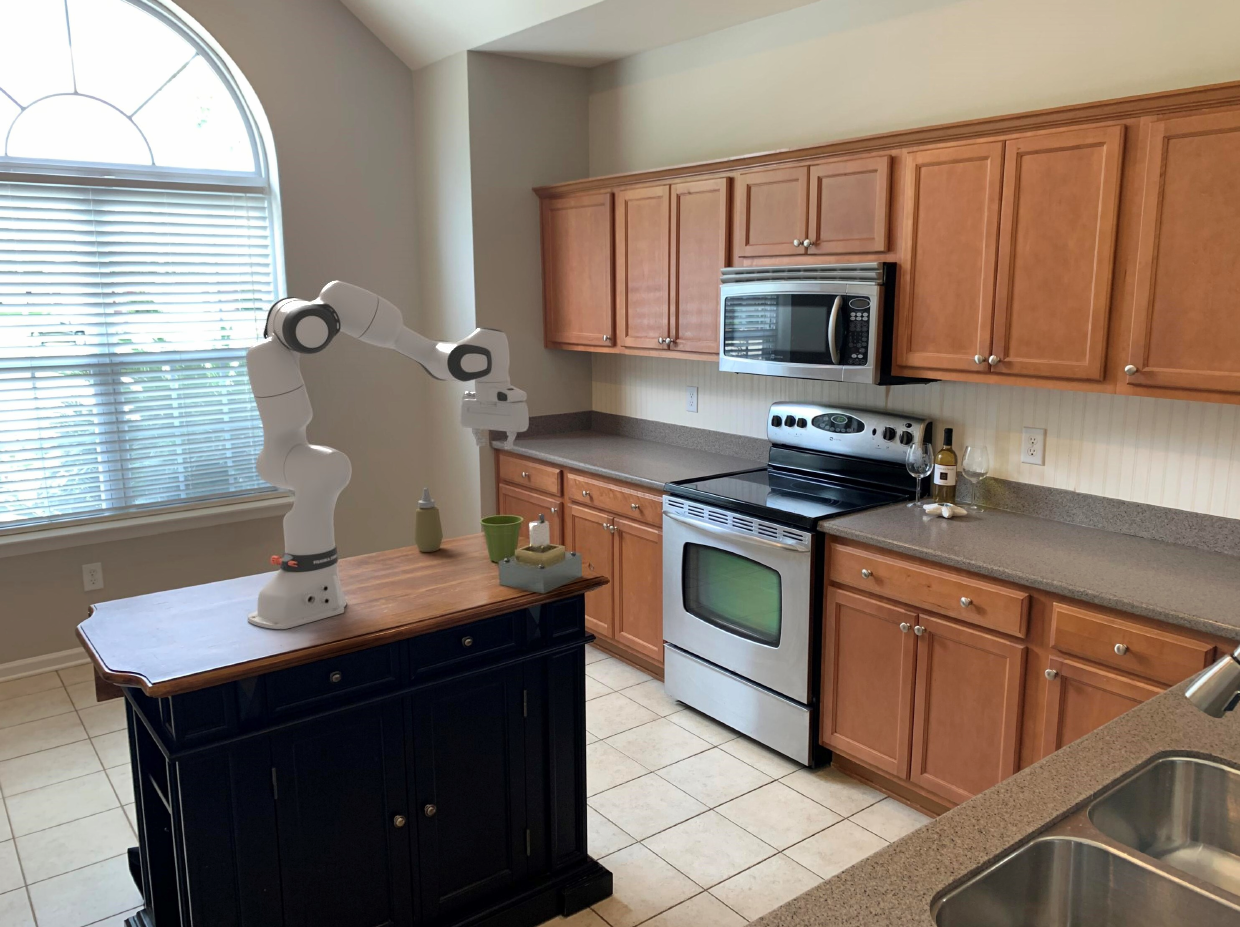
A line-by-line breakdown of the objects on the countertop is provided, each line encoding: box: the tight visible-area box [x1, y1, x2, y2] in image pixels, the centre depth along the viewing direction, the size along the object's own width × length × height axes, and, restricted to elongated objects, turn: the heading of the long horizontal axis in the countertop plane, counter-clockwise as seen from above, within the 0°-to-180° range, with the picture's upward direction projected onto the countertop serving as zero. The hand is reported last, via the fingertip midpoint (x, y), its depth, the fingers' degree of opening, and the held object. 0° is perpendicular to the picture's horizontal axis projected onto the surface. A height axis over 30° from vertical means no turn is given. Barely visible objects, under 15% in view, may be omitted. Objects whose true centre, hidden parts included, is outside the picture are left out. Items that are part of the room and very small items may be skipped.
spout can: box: [528, 513, 551, 553], centre depth 239 cm, size 5×5×11 cm
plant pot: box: [479, 514, 524, 564], centre depth 260 cm, size 12×12×11 cm
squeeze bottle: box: [413, 487, 444, 553], centre depth 270 cm, size 8×8×18 cm
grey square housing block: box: [498, 543, 583, 594], centre depth 241 cm, size 16×14×8 cm
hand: (494, 447), depth 241 cm, fingers open, 8 cm apart
